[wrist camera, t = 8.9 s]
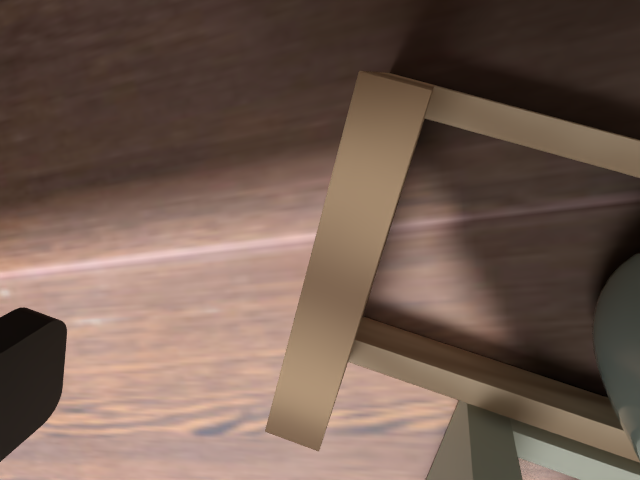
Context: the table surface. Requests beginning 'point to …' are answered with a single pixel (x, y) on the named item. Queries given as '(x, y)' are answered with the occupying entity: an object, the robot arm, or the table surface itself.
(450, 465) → the frame
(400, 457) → the table surface
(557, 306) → the table surface
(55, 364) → the robot arm
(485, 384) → the wooden drawer
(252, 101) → the table surface
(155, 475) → the table surface
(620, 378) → the cup
